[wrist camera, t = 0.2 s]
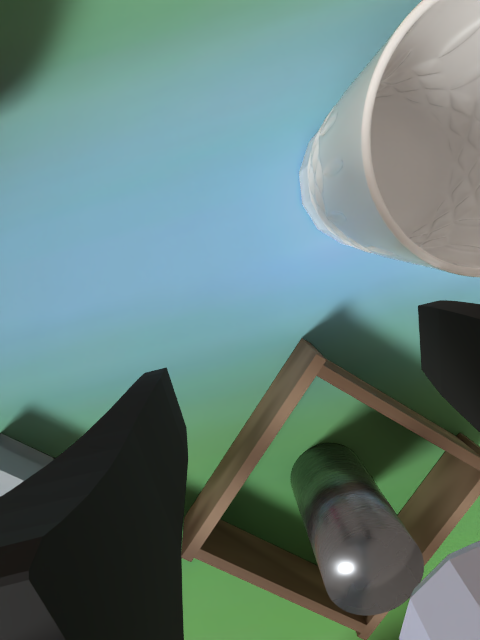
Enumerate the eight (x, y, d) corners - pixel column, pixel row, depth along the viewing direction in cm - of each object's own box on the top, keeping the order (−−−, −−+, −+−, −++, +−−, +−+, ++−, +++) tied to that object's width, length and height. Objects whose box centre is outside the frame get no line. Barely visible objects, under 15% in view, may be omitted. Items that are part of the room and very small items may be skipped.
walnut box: (348, 594, 26) (366, 640, 23) (184, 517, 24) (181, 557, 21) (466, 437, 24) (502, 465, 21) (301, 337, 22) (316, 354, 19)
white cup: (258, 208, 20) (306, 184, 11) (341, 61, 19) (480, -117, 9) (381, 283, 22) (525, 325, 12) (466, 151, 21) (699, 77, 11)
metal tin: (335, 519, 25) (385, 629, 18) (276, 489, 24) (304, 592, 17) (376, 463, 24) (443, 554, 17) (317, 430, 23) (363, 512, 16)
